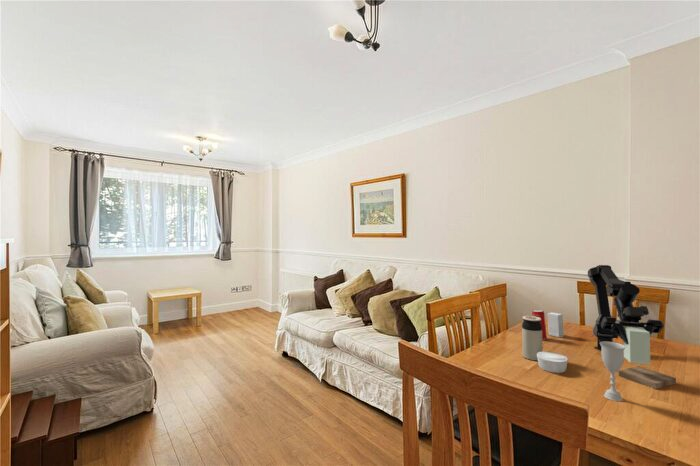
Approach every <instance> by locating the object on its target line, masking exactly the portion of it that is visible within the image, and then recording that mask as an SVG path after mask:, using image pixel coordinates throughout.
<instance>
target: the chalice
mask: <svg viewBox="0 0 700 466" xmlns="http://www.w3.org/2000/svg"><path fill="white" fill-rule="evenodd" d="M599 343H600V345H601V350H600V351H601V352H600V353H601V360H602V362H603V364H604V366H605V368H606V370H607V371H608V372H610V376H609V378H610V381H609V384H610V386H611V387H610V388H608V389H606V390H605V393H604V394H603V397H604V398H606V399H608V400H611V401H614V402H623V398H622V395H621V393H620V392H619V391H618V390H617V389H616V385H617V383H616V382H615V381H616V375H615V374H616V373H619V371H620V370H621V368H622V367H623V364H624V361H625V358H624V349H625V348H626V347H625V346H624V344H622V343H617V342H616V341H615V342H614V341H613V342H607V341H602V342H599Z"/></svg>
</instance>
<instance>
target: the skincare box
mask: <svg viewBox="0 0 700 466" xmlns="http://www.w3.org/2000/svg"><path fill="white" fill-rule="evenodd" d="M547 327H548V328H547V329H548V336H553V337H556V338H563V337H564V336H565V335H564V317H563V314H562V313H557V312H548V313H547Z"/></svg>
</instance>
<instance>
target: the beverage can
mask: <svg viewBox="0 0 700 466" xmlns="http://www.w3.org/2000/svg"><path fill="white" fill-rule="evenodd" d="M531 316H535V317H539V318H541V321H540V323H541V325H542V341H544V340H547V338H548V337H547V328H546V326H547V325H546V318H545V312H544V310H543V309H532V312H531Z"/></svg>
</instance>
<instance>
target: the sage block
mask: <svg viewBox="0 0 700 466" xmlns="http://www.w3.org/2000/svg"><path fill="white" fill-rule="evenodd" d="M623 329H624V332H625V334H626V336H627V339H628V344H626V343H625V342H624V341H623V345H624V346H625V347H626V348H625V349H624V359H625V360H626V361H628V362H629V363H630V364H640V365H641V364H642V365H651V334H650V332H648V331H646V330H645V329H643V328H638V327H623Z"/></svg>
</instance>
